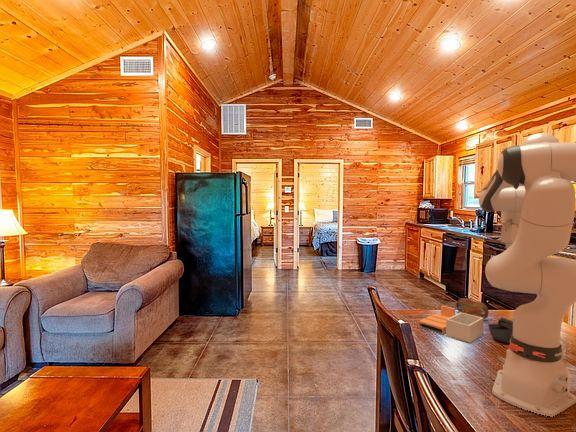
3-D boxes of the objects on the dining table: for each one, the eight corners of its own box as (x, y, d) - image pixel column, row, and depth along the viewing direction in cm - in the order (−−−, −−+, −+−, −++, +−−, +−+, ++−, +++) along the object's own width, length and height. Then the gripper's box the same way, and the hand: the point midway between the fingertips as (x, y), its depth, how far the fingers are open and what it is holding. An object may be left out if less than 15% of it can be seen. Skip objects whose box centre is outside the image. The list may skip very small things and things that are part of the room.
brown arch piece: (455, 312, 159) (456, 296, 159) (460, 311, 160) (460, 295, 160) (485, 322, 145) (485, 304, 145) (489, 321, 147) (489, 303, 146)
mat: (443, 335, 131) (443, 334, 131) (416, 327, 140) (416, 326, 140) (459, 326, 141) (459, 325, 141) (434, 318, 150) (434, 318, 150)
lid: (443, 333, 132) (443, 318, 132) (419, 326, 140) (419, 311, 140) (460, 323, 142) (460, 309, 142) (437, 317, 151) (437, 304, 151)
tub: (469, 343, 123) (469, 325, 123) (446, 336, 130) (446, 319, 130) (483, 334, 132) (483, 317, 132) (460, 327, 139) (460, 312, 139)
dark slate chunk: (486, 342, 125) (487, 330, 125) (488, 325, 144) (488, 314, 143) (535, 352, 117) (535, 339, 117) (530, 332, 135) (531, 321, 135)
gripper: (515, 219, 119) (514, 256, 119) (530, 218, 132) (529, 251, 132) (496, 219, 124) (495, 254, 124) (512, 218, 137) (512, 250, 137)
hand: (513, 252), depth 128 cm, fingers open, 8 cm apart
